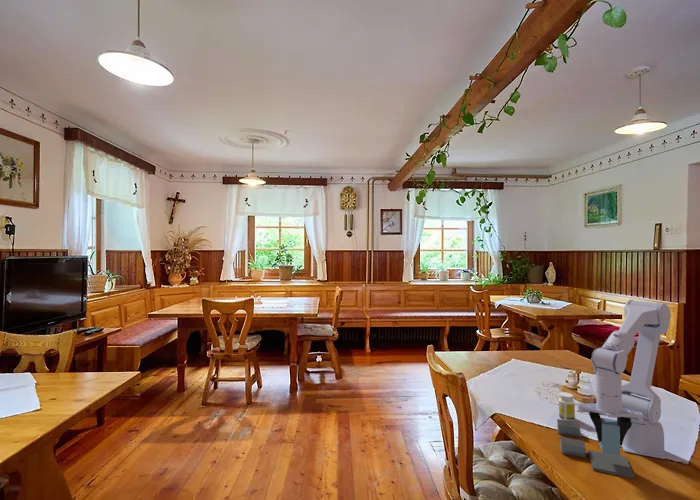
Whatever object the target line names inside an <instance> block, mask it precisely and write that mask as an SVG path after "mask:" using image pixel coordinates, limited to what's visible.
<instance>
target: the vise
mask: <svg viewBox="0 0 700 500" xmlns="http://www.w3.org/2000/svg"><path fill="white" fill-rule="evenodd" d="M556 422H557V425H556V427H557V428H556V429H557V433H558V434H559V435H564V436H568V437H563V436H560V437H559V441H560V444H559V446H560V453H561V454H563V455H568V456H572V457H578V458H583V459H586V458H587V457H586V456H587V453H586V450H587V449H586V445H585V441H584V440H581V439H579V438H581V428H580V423H579V422H577V421H566V420H563V419H561V418H557V419H556ZM570 437H575V438H578V439H575V438H570Z"/></svg>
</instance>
